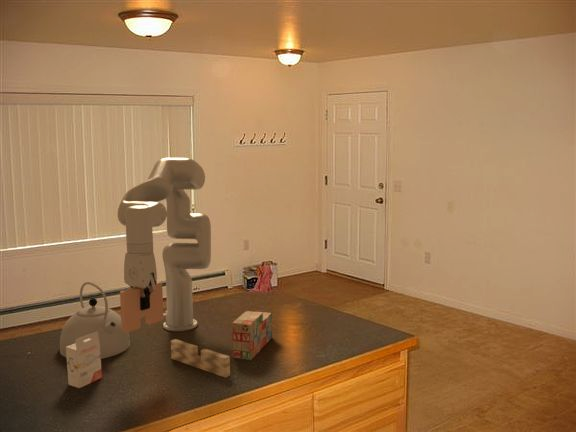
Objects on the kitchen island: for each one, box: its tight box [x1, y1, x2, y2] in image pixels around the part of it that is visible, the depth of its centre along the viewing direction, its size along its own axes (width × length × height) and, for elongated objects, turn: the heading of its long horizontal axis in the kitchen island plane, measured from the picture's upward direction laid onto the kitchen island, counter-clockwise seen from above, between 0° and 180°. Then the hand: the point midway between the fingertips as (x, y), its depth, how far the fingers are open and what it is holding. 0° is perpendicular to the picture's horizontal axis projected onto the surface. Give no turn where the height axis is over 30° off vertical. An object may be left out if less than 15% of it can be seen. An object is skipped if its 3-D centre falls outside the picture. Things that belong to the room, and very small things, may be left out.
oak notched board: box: [170, 338, 231, 379], centre depth 185 cm, size 24×2×6 cm, turn 52°
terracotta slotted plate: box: [119, 280, 164, 333], centre depth 177 cm, size 2×14×12 cm, turn 143°
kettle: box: [59, 281, 131, 360], centre depth 200 cm, size 25×23×23 cm
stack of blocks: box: [231, 310, 273, 361], centre depth 200 cm, size 21×6×12 cm, turn 162°
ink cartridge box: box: [65, 331, 103, 389], centre depth 174 cm, size 9×5×15 cm, turn 148°
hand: (142, 308), depth 177 cm, fingers closed on terracotta slotted plate, 1 cm apart
